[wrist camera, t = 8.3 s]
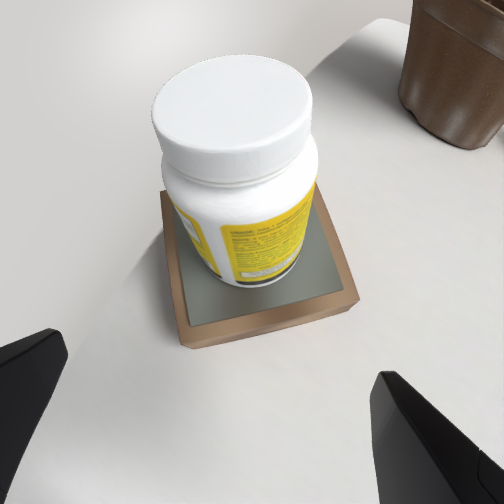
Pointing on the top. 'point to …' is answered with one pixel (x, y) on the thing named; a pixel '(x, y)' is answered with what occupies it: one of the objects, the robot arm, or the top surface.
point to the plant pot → (456, 69)
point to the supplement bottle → (239, 163)
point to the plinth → (258, 298)
